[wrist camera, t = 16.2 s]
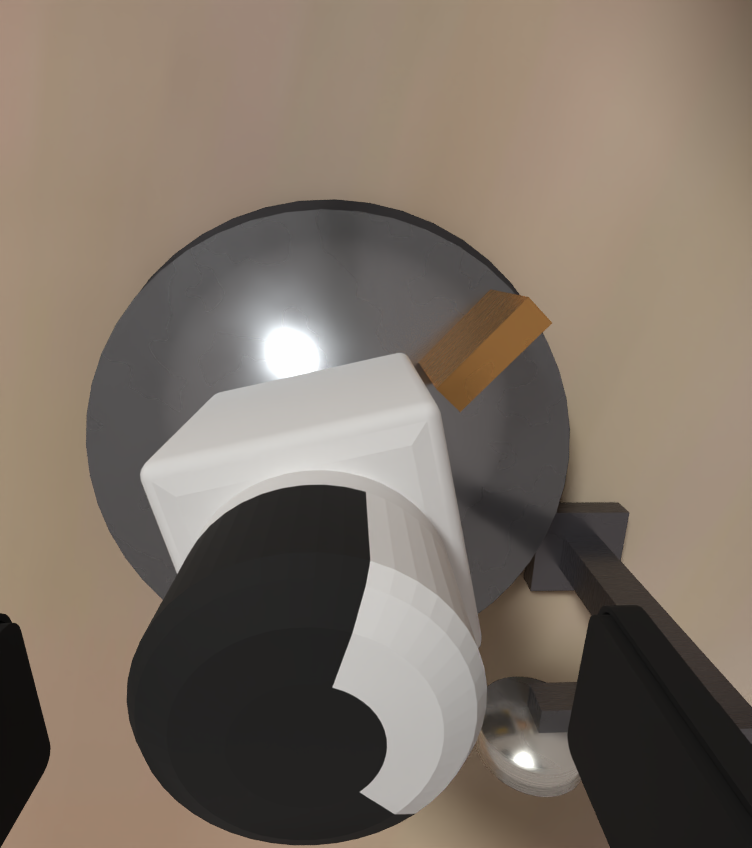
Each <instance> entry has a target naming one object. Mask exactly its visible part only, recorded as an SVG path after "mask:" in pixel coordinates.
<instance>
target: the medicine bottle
mask: <svg viewBox="0 0 752 848" xmlns="http://www.w3.org/2000/svg"><path fill="white" fill-rule="evenodd" d="M140 477H141V482H142V485H143V487H144V490H145V493H146V495H147V498H148V500H149V503H150V505H151V508H152V511H153V513H154V516H155V518H156V521H157V523H158V526H159V529H160V531H161V534H162V536H163V539H164V541H165V544H166V547H167V549H168V552H169V554H170V557H171V559H172V562H173V565H174V567H175V570H176V572H177V575H176V577H175V579H174V581H173V583H172V585H171V586H170V588H169V590H168V592H167V594H166V595H165V597H164V599H163V601H162V603H161V604H160V606H159V608H158V610H157V612H156V614H155V615H154V617H153V619H152V621H151V623H150V624H149V626H148V628H147V630H146V632H145V634H144V635H143V637H142V639H141V641H140V643H139V646H138V648H137V650H136V653H135V655H134V657H133V660H132V664H131V668H130V672H129V677H128V683H127V707H128V714H129V721H130V724H131V727H132V730H133V733H134V736H135V739H136V742H137V744H138V746H139V748H140V750H141V752H142V754H143V756H144V758H145V760H146V762H147V764H148V766H149V768H150V770H151V772H152V773H153V774H154V776H155V777H156V778H157V780H158V781H159V782H160V784H161V785H162V786H163V788H164V789H165V790H166V791H167V792H168V793H169V794H170V795H171V796H172V797H173V798H174V799H175V800H176V801H177V802H179V803H180V804H181V805H183V806H184V807H185V808H187V809H188V810H189V811H191V812H192V813H193V814H195V815H197V816H198V817H200V818H202V819H203V820H205V821H207V822H209V823H210V824H212V825H215V826H217V827H219V828H221V829H224V830H226V831H228V832H231V833H234V834H237V835H240V836H243V837H247V838H250V839H254V840H259V841H264V842H269V843H277V844H287V845H321V844H331V843H339V842H344V841H349V840H354V839H358V838H361V837H365V836H368V835H371V834H374V833H377V832H380V831H382V830H385V829H387V828H389V827H392V826H394V825H396V824H398V823H400V822H402V821H403V820H405V819H407V818H409V817H410V816H412V815H414V814H416V813H417V812H418V811H420V810H421V809H422V808H424V807H425V806H426V805H428V804H429V803H430V802H432V801H433V800H434V799H435V798H436V797H437V796H438V795H439V794H440V793H441V792H442V791H443V790H444V789H445V788H446V787H447V786H448V784H449V783H450V782H451V781H452V779H453V778H454V777H455V776H456V774H457V773H458V771H459V770H460V768H461V767H462V765H463V764H464V762H465V761H466V759H467V757H468V756H469V754H470V752H471V750H472V749H473V747H474V745H475V743H476V741H477V738H478V736H479V733H480V730H481V728H482V725H483V720H484V716H485V711H486V703H487V683H486V676H485V669H484V665H483V662H482V659H481V656H480V653H479V650H478V648H479V647H480V645H481V629H480V624H479V619H478V613H477V608H476V602H475V597H474V591H473V586H472V580H471V575H470V570H469V564H468V559H467V553H466V548H465V542H464V537H463V531H462V526H461V521H460V515H459V510H458V504H457V499H456V493H455V488H454V483H453V477H452V472H451V466H450V461H449V455H448V450H447V444H446V439H445V434H444V428H443V423H442V417H441V412H440V410H439V408H438V406H437V404H436V403H435V401H434V399H433V398H432V396H431V394H430V392H429V391H428V389H427V387H426V386H425V384H424V382H423V381H422V379H421V377H420V376H419V374H418V372H417V371H416V369H415V367H414V366H413V364H412V362H411V361H410V359H409V357H408V356H407V355H405V354H404V353H395V354H390V355H386V356H381V357H377V358H372V359H368V360H363V361H359V362H354V363H350V364H345V365H341V366H336V367H332V368H327V369H323V370H318V371H314V372H309V373H305V374H300V375H296V376H291V377H287V378H282V379H278V380H273V381H269V382H264V383H260V384H255V385H251V386H246V387H242V388H237V389H233V390H228V391H224V392H219V393H217V394H215V395H214V396H213V397H211V398H210V399H209V400H208V401H207V402H206V403H205V404H204V405H203V406H202V407H201V408H200V409H199V410H198V411H197V412H196V413H195V414H194V415H193V416H192V417H191V418H190V419H189V420H188V421H187V422H186V423H185V424H184V425H183V426H182V427H181V428H180V429H179V430H178V431H177V432H176V433H175V434H174V435H173V436H172V437H171V438H170V439H169V440H168V441H167V442H166V443H165V444H164V445H163V446H162V447H161V448H160V449H159V450H158V451H157V452H156V453H155V454H154V455H153V456H152V457H151V458H150V459H149V460H148V461H147V462H146V463H145V464H144V466H143V468H142V470H141V473H140Z"/></svg>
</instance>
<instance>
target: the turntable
mask: <svg viewBox="0 0 752 848" xmlns="http://www.w3.org/2000/svg"><path fill="white" fill-rule="evenodd" d="M551 324H552V322H551V321H550V320H549V319H548V318H547V317H546V316H545V315H544V314H543V312H542V311H541V310H540V309H539V308H538V307H537V306H536V305H535V304H534V303H533V301H532V300H531V299H530V298H529V297H525V296H520V295H516V294H515V293H514V292H513V291H512V290H511V289H510V288H509V287H508V286H507V285H506V284H505V283H504V282H503V281H502V280H501V279H500V278H499V277H498V276H497V275H496V274H495V273H494V272H492V271H491V270H490V269H489V268H488V267H487V266H486V265H485V264H483V263H482V262H480V261H479V260H478V259H476V258H475V257H473V256H472V255H470V254H469V253H468V252H466V251H465V250H463V249H462V248H461V247H459V246H457V245H455V244H454V243H452V242H450V241H448V240H446V239H444V238H442V237H440V236H438V235H436V234H434V233H432V232H430V231H428V230H426V229H423V228H420V227H417V226H414V225H411V224H409V223H406V222H403V221H400V220H397V219H394V218H390V217H385V216H380V215H374V214H369V213H364V212H359V211H344V210H325V209H319V210H308V211H296V212H285V213H281V214H277V215H272V216H268V217H264V218H259V219H255V220H251V221H248V222H245V223H243V224H240V225H238V226H235V227H233V228H230V229H227V230H225V231H222V232H220V233H217V234H215V235H213V236H212V237H210V238H208V239H206V240H205V241H203V242H201V243H199V244H198V245H196V246H194V247H192V248H191V249H189V250H187V251H185V252H184V253H183V254H182V255H180V256H179V257H178V258H177V259H175V260H174V261H173V262H171V263H170V264H169V265H168V266H166V267H165V268H164V269H162V270H161V271H160V272H159V273H158V274H157V275H156V276H155V277H154V278H153V279H152V280H151V281H150V282H149V283H148V284H147V285H146V286H145V287H144V288H143V289H142V290H141V292H140V293H139V294H138V295H137V296H136V297H135V298H134V300H133V301H132V302H131V304H130V305H129V307H128V308H127V310H126V311H125V312H124V314H123V315H122V317H121V318H120V320H119V321H118V322H117V324H116V326H115V328H114V330H113V332H112V334H111V336H110V338H109V340H108V342H107V344H106V346H105V348H104V350H103V352H102V354H101V357H100V360H99V363H98V366H97V369H96V372H95V376H94V379H93V382H92V386H91V392H90V398H89V404H88V410H87V428H86V448H87V456H88V463H89V471H90V477H91V481H92V484H93V488H94V492H95V495H96V499H97V503H98V506H99V508H100V510H101V513H102V515H103V517H104V520H105V522H106V524H107V527H108V529H109V531H110V533H111V535H112V536H113V538H114V540H115V541H116V543H117V545H118V546H119V548H120V550H121V551H122V553H123V555H124V556H125V558H126V559H127V560H128V562H129V563H130V564H131V565H132V567H133V568H134V569H135V571H136V572H137V573H138V574H139V576H140V577H141V578H142V579H143V580H144V581H145V582H146V583H147V584H148V585H149V586H150V587H151V588H152V589H153V590H154V591H155V592H156V593H157V594H158V595H159V596H160V597H161V598H162V599H164V597H165V595H166V594H167V592H168V590H169V588H170V586H171V585H172V583H173V581H174V579H175V577H176V575H177V572H176V570H175V567H174V565H173V562H172V559H171V557H170V554H169V552H168V549H167V547H166V544H165V541H164V539H163V536H162V534H161V531H160V529H159V526H158V523H157V521H156V518H155V516H154V513H153V511H152V508H151V505H150V503H149V500H148V498H147V495H146V493H145V490H144V487H143V485H142V482H141V477H140V473H141V470H142V468H143V466H144V464H145V463H146V462H147V461H148V460H149V459H150V458H151V457H152V456H153V455H154V454H155V453H156V452H157V451H158V450H159V449H160V448H161V447H162V446H163V445H164V444H165V443H166V442H167V441H168V440H169V439H170V438H171V437H172V436H173V435H174V434H175V433H176V432H177V431H178V430H179V429H180V428H181V427H182V426H183V425H184V424H185V423H186V422H187V421H188V420H189V419H190V418H191V417H192V416H193V415H194V414H195V413H196V412H197V411H198V410H199V409H200V408H201V407H202V406H203V405H204V404H205V403H206V402H207V401H208V400H209V399H210V398H211V397H213V396H214V395H215V394H217V393H219V392H224V391H228V390H233V389H237V388H242V387H246V386H251V385H255V384H260V383H264V382H269V381H273V380H278V379H282V378H287V377H291V376H296V375H300V374H305V373H309V372H314V371H318V370H323V369H327V368H332V367H336V366H341V365H345V364H350V363H354V362H359V361H363V360H368V359H372V358H377V357H381V356H386V355H390V354H395V353H404V354H405V355H407V356H408V357H409V359H410V361H411V362H412V364H413V366H414V367H415V369H416V371H417V372H418V374H419V376H420V377H421V379H422V381H423V382H424V384H425V386H426V387H427V389H428V391H429V392H430V394H431V396H432V398H433V399H434V401H435V403H436V404H437V406H438V408H439V410H440V412H441V417H442V423H443V428H444V434H445V439H446V444H447V450H448V455H449V461H450V466H451V472H452V477H453V483H454V488H455V493H456V499H457V504H458V510H459V515H460V521H461V526H462V531H463V537H464V542H465V548H466V553H467V559H468V564H469V570H470V575H471V580H472V586H473V591H474V597H475V602H476V608H477V613H480V612H481V611H482V610H483V609H485V608H486V607H487V606H489V605H490V604H491V603H493V602H494V601H495V600H496V599H497V598H498V597H499V596H500V595H501V594H502V593H503V592H504V591H505V590H506V589H507V588H508V587H509V586H510V585H511V584H512V583H513V582H514V581H515V580H516V578H517V577H518V576H519V575H520V573H521V572H522V571H523V570H524V568H525V567H526V566H527V565H528V563H529V562H530V561H531V559H532V557H533V556H534V554H535V553H536V551H537V549H538V548H539V546H540V545H541V543H542V541H543V540H544V538H545V536H546V534H547V531H548V529H549V527H550V525H551V523H552V521H553V518H554V516H555V514H556V511H557V508H558V505H559V501H560V498H561V495H562V492H563V489H564V484H565V478H566V472H567V467H568V461H569V438H570V427H569V418H568V408H567V400H566V396H565V392H564V388H563V384H562V380H561V376H560V372H559V369H558V367H557V364H556V362H555V359H554V357H553V354H552V352H551V350H550V347H549V345H548V342H547V340H546V339H545V337H544V335H543V334H542V332H543V331H544V330H545V329H546V328H548V327H549V326H550V325H551Z"/></svg>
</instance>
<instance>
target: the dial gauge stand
mask: <svg viewBox="0 0 752 848" xmlns="http://www.w3.org/2000/svg"><path fill="white" fill-rule="evenodd" d="M628 517H629V512H628V511H627V510H626V509H625V508H624V507H623V506H621V505H620V504H619V503H559V505H558V508H557V511H556V514H555V516H554V518H553V521H552V523H551V525H550V527H549V529H548V531H547V534H546V536H545V538H544V540H543V541H542V543H541V545H540V546H539V548H538V549H537V551H536V553H535V554H534V556H533V557H532V559H531V561H530V562H529V563H528V565H527V566H526V567H525V573H524V579H525V581H526V583H527V585H528V587H529V589H530V590H531V591H563V590H575V592H576V593H577V595H578V596H579V598H580V599H581V601H582V602H583V604H584V605H585V606H586V608H587V609H588V611H589V612H590V614H591V615H598V613H599V610H600V609H601V607H602V606H606V605H638V606H640V607H642V608H643V609H644V610H645V611H646V613H647V614H648V615H649V616H650V618H651V619H652V620H653V622H654V623H655V624H656V625H657V627H658V628H659V629H660V630H661V632H662V633H663V634H664V635H665V637H666V638H667V639H668V640H669V642H670V643H671V644H672V646H673V647H674V648H675V649H676V651H677V652H678V653H679V654H680V656H681V657H682V658H683V659H684V661H685V662H686V663H687V664H688V666H689V667H690V668H691V669H692V671H693V672H694V673H695V675H696V676H697V677H698V678H699V680H700V681H701V682H702V683H703V685H704V686H705V687H706V688H707V690H708V691H709V692H710V693H711V695H712V696H713V697H714V699H715V700H716V701H717V702H718V703H719V704H720V705H721V706H722V708H723V709H724V710H725V711H726V713H727V714H728V715H729V716H730V718H731V719H732V720H733V721H734V723H735V724H736V725H737V726H738V728H739V729H740V730H741V732H742V733H743V734H744V735H745V737H746V738H747V739H748V740H749V742H750V743H751V744H752V707H751V706H750V705H749V703H748V702H747V701H746V700H745V699H744V698H743V697H742V696H741V694H740V693H739V692H738V691H737V690H736V689H735V688H734V687H733V686H732V684H731V683H730V682H729V681H728V680H727V679H726V678H725V677H724V676H723V674H722V673H721V672H720V671H719V670H718V669H717V668H716V667H715V666H714V664H713V663H712V662H711V661H710V660H709V659H708V658H707V657H706V656H705V654H704V653H703V652H702V651H701V650H700V649H699V648H698V647H697V646H696V644H695V643H694V642H693V641H692V640H691V639H690V638H689V637H688V635H687V634H686V633H685V632H684V631H683V630H682V629H681V628H680V627H679V625H678V624H677V623H676V622H675V621H674V620H673V619H672V618H671V617H670V615H669V614H668V613H667V612H666V611H665V610H664V609H663V608H662V607H661V605H660V604H659V603H658V602H657V601H656V600H655V599H654V598H653V597H652V595H651V594H650V593H649V592H648V591H647V590H646V589H645V588H644V587H643V585H642V584H641V583H640V582H639V581H638V580H637V579H636V578H635V576H634V575H633V574H632V573H631V572H630V571H629V570H628V569H627V568H626V566H625V565H624V564H623V563H622V562H621V561H620V560H621V555H622V549H623V544H624V538H625V533H626V528H627V522H628ZM576 685H577V682H565V683H546V682H543V681H540V680H537V679H533V678H528V677H508V678H503V679H500V680H497V681H495V682H493V683H492V684H490V685H489V686H488V687H487V703H486V711H485V716H484V720H483V725H482V728H481V730H480V733H479V736H478V738H477V741H476V747H477V750H478V753H479V755H480V757H481V759H482V760H483V762H484V764H485V765H486V766H487V768H488V769H489V770H490V771H491V772H492V773H493V774H494V775H495V776H496V777H497V778H498V779H500V780H501V781H502V782H503V783H505V784H506V785H508V786H510V787H511V788H513V789H515V790H517V791H520V792H522V793H525V794H529V795H532V796H539V797H554V796H559V795H563V794H565V793H568V792H569V791H571V790H573V789H574V788H575V787H576V786H577V785H578V784H579V783H580V781H581V778H580V776H579V773H578V771H577V769H576V766H575V764H574V761H573V759H572V757H571V754H570V750H569V746H568V737H567V733H568V726H569V721H570V716H571V711H572V706H573V701H574V696H575V691H576Z"/></svg>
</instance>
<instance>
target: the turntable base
mask: <svg viewBox="0 0 752 848" xmlns="http://www.w3.org/2000/svg"><path fill="white" fill-rule="evenodd" d="M319 209H325V210H344V211H359V212H364V213H369V214H374V215H380V216H385V217H390V218H394V219H397V220H400V221H403V222H406V223H409V224H411V225H414V226H417V227H420V228H423V229H426V230H428V231H430V232H432V233H434V234H436V235H438V236H440V237H442V238H444V239H446V240H448V241H450V242H452V243H454V244H455V245H457V246H459V247H461V248H462V249H463V250H465V251H466V252H468V253H469V254H470V255H472V256H473V257H475V258H476V259H478V260H479V261H480V262H482V263H483V264H485V265H486V266H487V267H488V268H489V269H490V270H491V271H492V272H494V273H495V274H496V275H497V276H498V277H499V278H500V279H501V280H502V281H503V282H504V283H505V284H506V285H507V286H508V287H509V288H510V289H511V290H512V291H513V292H514V293H515V294H516V295H519V293H518V292H517V290H516V289H515V288H514V286H513V285H512V284H511V283H510V281H509V280H508V279H507V278H506V277H505V276H504V275H503V274H502V273H501V272H500V271H499V270H498V269H497V268H496V267H495V266H494V265H493V264H492V263H491V262H490V261H489V260H488V259H487V258H485V257H484V256H483V255H481V254H480V253H479V252H478V251H476V250H475V249H474V248H472V247H471V246H470V245H469V244H467V243H466V242H465V241H463V240H462V239H460V238H458V237H457V236H455V235H453V234H451V233H450V232H448V231H446V230H444V229H443V228H441V227H439V226H437V225H436V224H434V223H431V222H429V221H426V220H424V219H421V218H419V217H416V216H414V215H411V214H409V213H406V212H404V211H400V210H396V209H392V208H388V207H384V206H380V205H376V204H371V203H365V202H355V201H345V200H312V201H297V202H292V203H286V204H281V205H276V206H271V207H265V208H262V209H259V210H257V211H254V212H251V213H248V214H245V215H242V216H239V217H236V218H233V219H231V220H229V221H227V222H225V223H223V224H221V225H219V226H217V227H216V228H214V229H212V230H210V231H208V232H206V233H204V234H202V235H201V236H199V237H198V238H196V239H195V240H194V241H192V242H191V243H189V244H188V245H187V246H185V247H184V248H182V249H181V250H180V251H178V252H177V253H175V254H174V255H173V256H172V257H171V258H170V259H169V260H168V261H167V262H166V263H165V264H164V265H163V266H162V267H161V268H160V269H159V270H158V271H157V272H156V273H155V274H154V275H153V276H152V277H151V278H150V279H149V280H148V282H147V283H146V284H145V286H146V285H147V284H148V283H149V282H150V281H151V280H152V279H153V278H154V277H155V276H156V275H157V274H158V273H159V272H160V271H161V270H162V269H164V268H165V267H166V266H168V265H169V264H170V263H171V262H173V261H174V260H175V259H177V258H178V257H179V256H180V255H182V254H183V253H184V252H185V251H187V250H189V249H191V248H192V247H194V246H196V245H198V244H199V243H201V242H203V241H205V240H206V239H208V238H210V237H212V236H213V235H215V234H217V233H220V232H222V231H225V230H227V229H230V228H233V227H235V226H238V225H240V224H243V223H245V222H248V221H251V220H255V219H259V218H264V217H268V216H272V215H277V214H281V213H285V212H296V211H308V210H319ZM145 286H144V287H145ZM144 287H143V288H144ZM143 288H142V289H143ZM140 292H141V291H140ZM140 292H139V293H140ZM542 334H543V333H542Z"/></svg>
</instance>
